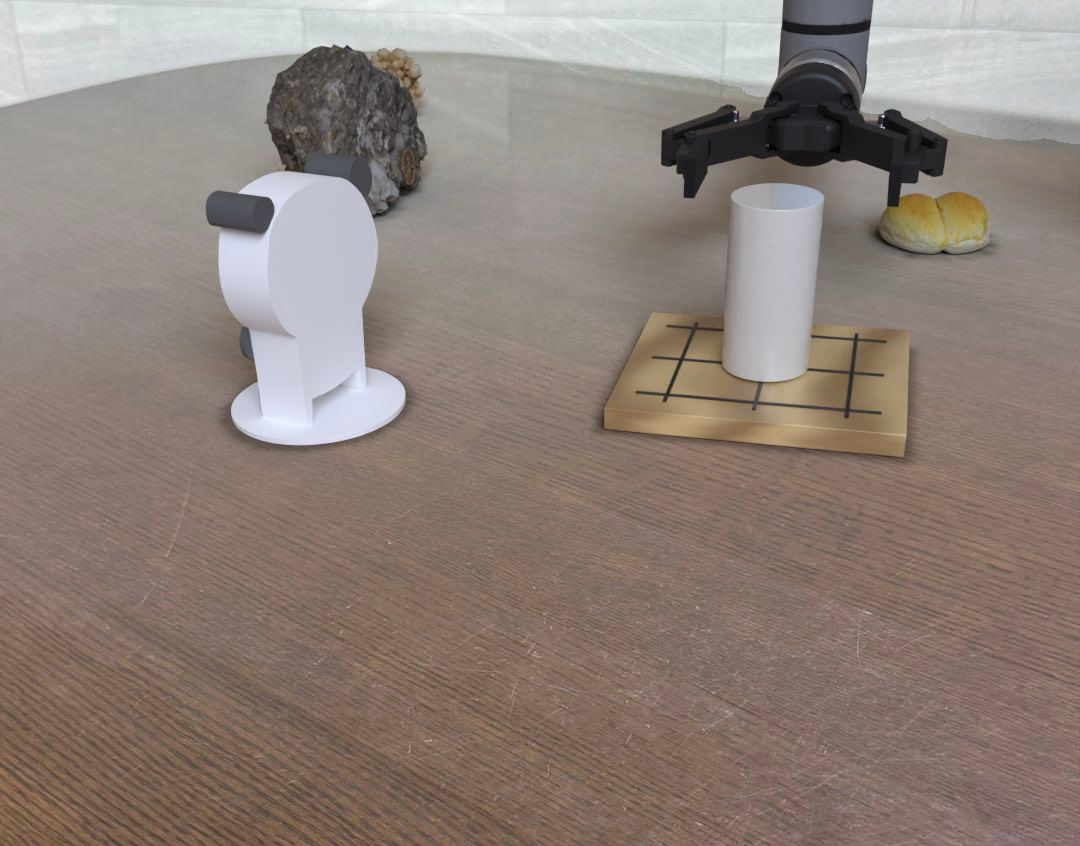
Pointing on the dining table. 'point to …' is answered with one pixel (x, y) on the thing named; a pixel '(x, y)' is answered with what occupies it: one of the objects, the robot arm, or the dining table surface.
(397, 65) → the mineral formation
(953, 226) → the bread roll
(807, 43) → the robot arm
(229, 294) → the white plastic upright piece
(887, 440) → the game board
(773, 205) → the white tube
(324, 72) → the rock
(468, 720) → the dining table surface
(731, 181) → the dining table surface
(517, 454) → the dining table surface
